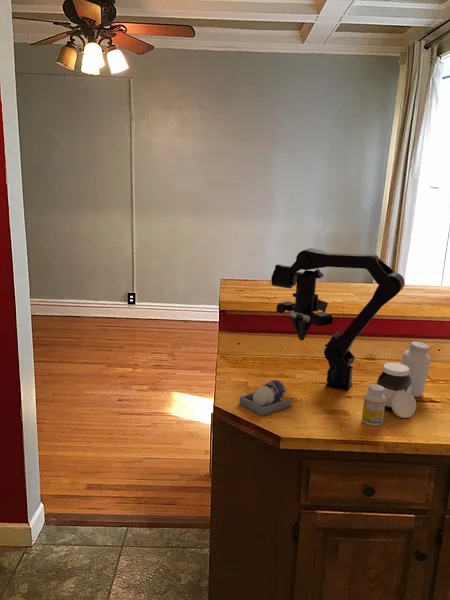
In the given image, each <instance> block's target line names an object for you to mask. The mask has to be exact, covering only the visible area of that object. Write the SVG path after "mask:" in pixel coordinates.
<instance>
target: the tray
mask: <svg viewBox="0 0 450 600" xmlns="http://www.w3.org/2000/svg"><path fill="white" fill-rule="evenodd" d="M256 392H257V391H254V392H251V393H247V394H244V395H240V396H239V405H241V406H243V407H244V408H246V409H248V410H250V411H251V412H253V413H254V414H257V415H258V416H259V417H264V416H267V415H269V414H272V413H276V412H279V411H282V410H286V409H288V408H291V407H292V403H293V398H288V399H284V400H283V399H282V398H281V399H279V400H277V401H276V402H274V403H272V404H270V405H267V406H265V405H263V406H258V405H257V404H255V403H254V401H253V395H254V393H256Z"/></svg>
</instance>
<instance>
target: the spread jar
mask: <svg viewBox="0 0 450 600" xmlns="http://www.w3.org/2000/svg"><path fill="white" fill-rule="evenodd" d="M408 374H409V367H407V366H405V365H403V364H401V363H398V362H386V363H384V364H383V368H382V372H381V373H380V375H379V376H378V378H377V381H376V385H380V386H382V387H384V394H383V395H384V396H385V398H386V402H385V410H386V411H389V412H393V413H394V414H395V416H397V417H398V418H404V419H406V418H410V417H412V415H414V414H415V412H416V408H417V402H416V398H415V397H413V395H412V394H411V387H412V380H411V377H410V376H409V375H408ZM385 410H384V411H385Z"/></svg>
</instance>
